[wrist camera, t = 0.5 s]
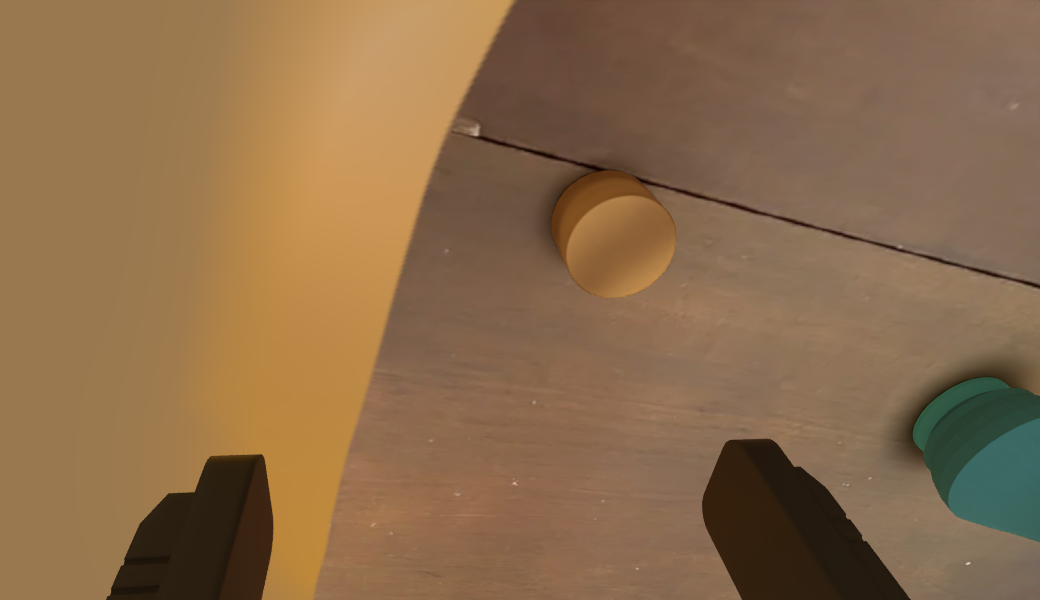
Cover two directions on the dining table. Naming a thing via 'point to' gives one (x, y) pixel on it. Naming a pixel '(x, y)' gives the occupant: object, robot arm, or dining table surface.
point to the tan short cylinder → (612, 234)
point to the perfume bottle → (985, 454)
